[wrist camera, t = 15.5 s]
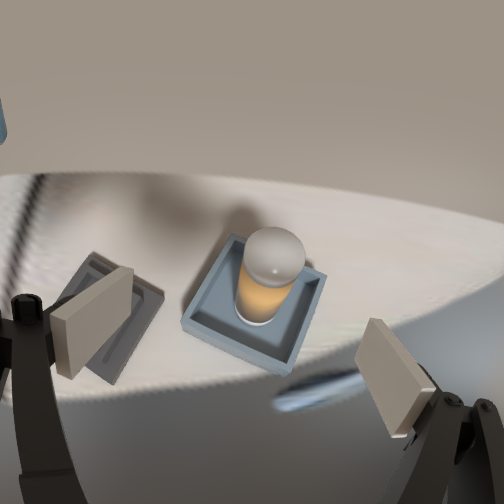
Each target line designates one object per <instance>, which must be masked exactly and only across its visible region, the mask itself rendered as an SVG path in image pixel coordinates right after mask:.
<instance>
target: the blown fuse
mask: <svg viewBox="0 0 504 504" xmlns="http://www.w3.org/2000/svg"><path fill="white" fill-rule="evenodd" d="M305 259H306V254H305V249H304V247H303V244H302V243H301V241H300V240H299V239H298V238H297V237H296V236H295V235H294V234H293V233H291V232H289V231H287V230H285V229H282V228H278V227H265V228H262V229H259V230H257V231H255V232H254V233H253V234H251V236H250V237H249V238H248V240H247V242H246V245H245V249H244V254H243V259H242V265H241V270H240V275H239V280H238V286H237V291H236V296H235V302H234V311H235V314H236V316H237V317H238V319H239V320H240V321H241V322H242V323H244V324H245V325H247V326H250V327H263V326H266V325H267V324H269V323H270V322H271V321H272V320H273V319H274V318H275V316H276V314H277V312H278V311H279V309H280V307H281V305H282V304H283V302H284V300H285V298H286V297H287V295H288V293H289V291H290V290H291V288H292V286H293V284H294V282H295V281H296V279H297V277H298V275H299V273H300V272H301V270H302V268H303V266H304V264H305Z"/></svg>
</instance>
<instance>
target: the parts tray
mask: <svg viewBox="0 0 504 504" xmlns="http://www.w3.org/2000/svg"><path fill="white" fill-rule="evenodd" d="M246 242H247V240H246V239H244V238H242V237H240V236H237V235H235V234H233V233H232V235H231V236H230V238H229V240H228V241H227V243H226V245H225V246H224V248H223V250H222V251H221V253H220V254H219V256H218V258H217V259H216V261H215V263H214V264H213V266H212V268H211V269H210V271H209V273H208V274H207V276H206V278H205V279H204V281H203V283H202V284H201V286H200V288H199V289H198V291H197V293H196V295H195V296H194V298H193V300H192V301H191V303H190V305H189V306H188V308H187V310H186V311H185V313H184V315H183V317H182V318H181V320H180V322H181V325H182V329H183V331H185V332H187V333H189V334H191V335H193V336H195V337H197V338H199V339H201V340H203V341H205V342H207V343H209V344H211V345H213V346H215V347H217V348H219V349H221V350H223V351H225V352H227V353H229V354H231V355H233V356H236V357H238V358H240V359H242V360H244V361H246V362H249V363H251V364H253V365H255V366H258V367H260V368H262V369H264V370H267V371H269V372H271V373H274V374H277V375H279V376H281V377H284V376H286V375H287V374H289V373H291V371H292V368H293V366H294V363H295V361H296V358H297V356H298V353H299V351H300V348H301V346H302V343H303V341H304V338H305V336H306V333H307V330H308V328H309V325H310V323H311V320H312V317H313V315H314V312H315V309H316V306H317V304H318V301H319V298H320V295H321V292H322V290H323V287H324V284H325V281H326V278H327V275H325V274H323V273H321V272H318V271H316V270H314V269H312V268H309V267H307V266H305V265H304V266H303V268H302V270H301V272H300V273H299V275H298V277H297V279H296V281H295V282H294V284H293V286H292V288H291V290H290V291H289V293H288V295H287V297H286V298H285V300H284V302H283V304H282V305H281V307H280V309H279V311H278V312H277V314H276V316H275V318H274V319H273V320H272V321H271V322H270V323H269V324H267V325H266V326H263V327H250V326H247V325H245V324H244V323H242V322H241V321H240V320H239V319H238V317H237V316H236V314H235V311H234V302H235V296H236V291H237V286H238V280H239V275H240V270H241V265H242V259H243V254H244V249H245V245H246Z"/></svg>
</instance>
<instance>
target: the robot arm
mask: <svg viewBox="0 0 504 504" xmlns="http://www.w3.org/2000/svg"><path fill="white" fill-rule="evenodd" d="M6 137H7V129H6V124H5V119H4V115H3V110H2V105H1V100H0V145H1V144H2V143H3V142H4V141H5V139H6ZM133 274H134V269H132V268H128V267H124V266H120V267H119V268H117V269H116V270H114V271H113V272H111V273H110V274H108V275H107V276H105V277H103V278H102V279H100V280H99V281H97V282H96V283H94V284H93V285H91V286H90V287H88V288H87V289H85V290H84V291H82V292H81V293H79V294H78V295H77V296H76V295H70V296H66V297H64V298H62V299H61V300H59V301H58V302H56V303H55V304H53V306H50V307H49V308H47V309H46V310H44V311H43V309H42V300H41V298H40V297H38V296H37V295H33V294H20V295H17V296H15V297H14V298H12V300H11V306H12V314H13V321H12V320H8V319H3V318H2V316H1V310H0V400H1V397H2V393H3V390H4V386H5V383H6V380H7V377H8V374H9V371H10V369H12V399H13V413H14V422H15V431H16V439H17V446H18V451H19V457H20V463H21V467H22V474H20V475H19V483H20V488H21V492H22V496H23V500H24V503H25V504H90V502H89V500H88V497H87V495H86V492H85V490H84V488H83V485H82V483H81V480H80V478H79V475H78V472H77V470H76V467H75V464H74V461H73V458H72V455H71V452H70V449H69V446H68V442H67V439H66V436H65V433H64V429H63V425H62V421H61V417H60V414H59V409H58V405H57V401H56V396H55V391H54V386H53V381H52V376H51V370H50V367H51V366H52V365H53V364H54V363H55V364H56V370H57V374H60V375H62V376H64V377H66V378H68V379H71V380H72V379H73V378H74V377H75V376H76V375H77V374H78V373H79V371H80V370H81V369H82V368H83V367H84V366H85V364H86V363H87V362H88V361H89V360H90V359H91V358H92V357H93V355H94V354H95V353H96V352H97V351H98V350H99V349H100V348H101V346H102V345H103V344H104V343H105V342H106V341H107V340H108V339H109V338H110V336H111V335H112V334H113V333H114V332H115V331H116V330H117V329H118V328H119V327H120V325H121V324H122V323H123V322H124V321H125V320H126V319H127V318H128V317H129V316H130V315H131V300H132V286H133ZM354 360H355V362H356V364H357V366H358V368H359V370H360V372H361V374H362V376H363V378H364V380H365V382H366V385H367V387H368V389H369V391H370V393H371V395H372V397H373V399H374V401H375V403H376V405H377V408H378V410H379V412H380V414H381V416H382V418H383V420H384V422H385V425H386V427H387V429H388V431H389V433H390V436H391V438H398V437H406V436H407V434H408V433H409V431H410V430H411V428H412V427H413V428H414V430H415V432H416V433H415V434H414V436H413V437H412V439H411V440H410V441H409V443H408V444H407V446H406V447H405V448H404V451H406V452H405V454H404V456H403V458H402V460H401V462H400V464H399V466H398V468H397V470H396V472H395V474H394V475H393V477H392V479H391V481H390V483H389V485H388V486H387V488H386V490H385V492H384V493H383V495H382V497H381V499H380V500H379V502H378V504H442V501H443V498H444V495H445V492H446V488H447V485H448V504H504V428H503V425H502V422H501V419H500V416H499V413H498V410H497V408H496V406H495V405H494V404H493V402H491V401H489V400H486V399H481V398H480V399H478V400H477V401H476V402H475V404H474V405H473V407H468V406H464V403H463V401H462V400H461V399H460V398H459V397H458V396H457V395H454V394H452V393H450V392H442V390H441V389H440V388H439V387H438V385H437V384H436V383H435V381H434V380H432V377H431V376H430V375H428V372H427V371H426V370H425V369H424V368H423V367H422V366H421V365H420V364H418V363H417V362H416V361H415V360H414V359H413V357H412V356H411V355H410V354H409V352H408V351H407V350H406V349H405V347H404V346H403V345H402V344H401V342H400V341H399V340H398V339H397V338H396V336H395V335H394V334H393V333H392V331H391V330H390V329H389V328H388V327H387V325H386V324H385V323H384V322H383V321H382V320H381V319H375V318H370V319H369V322H368V325H367V328H366V330H365V333H364V335H363V338H362V341H361V343H360V346H359V348H358V351H357V353H356V355H355V358H354Z"/></svg>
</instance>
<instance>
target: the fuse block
mask: <svg viewBox="0 0 504 504" xmlns="http://www.w3.org/2000/svg"><path fill="white" fill-rule="evenodd" d="M114 270H115V269H113V268H111V267H110V266H108V265H106V264H105V263H103V262H101V261H100V260H98V259H96V258H95V257H93V256H91V255H90V254H89V256H88V257H87V258H86V260H85V261H84V262H83V264H82V265H81V266H80V268H79V269H78V271H77V272H76V273H75V275H74V276H73V277H72V279H71V280H70V282H69V283H68V285H67V286H66V287H65V289H64V290H63V292H62V293H61V295H60V296H59V298H58V299H57V301H56V302H58V301H59V300H61V299H62V298H64V297H66V296H70V295H76V296H77V295H78V294H79V293H81V292H82V291H84V290H85V289H87V288H88V287H90V286H91V285H93V284H94V283H96V282H97V281H99V280H100V279H102V278H103V277H105V276H107V275H108V274H110V273H111V272H113V271H114ZM56 302H55V303H56ZM163 302H164V297H163V296H161V295H159V294H157V293H155V292H153V291H152V290H150V289H148V288H146V287H144V286H143V285H141V284H139V283H137V282H135V281H134V280H133V286H132V300H131V315H130V316H129V317H128V318H127V319H126V320H125V321H124V322H123V323H122V324H121V325H120V327H119V328H118V329H117V330H116V331H115V332H114V333H113V334H112V335H111V336H110V338H109V339H108V340H107V341H106V342H105V343H104V344H103V345H102V346H101V348H100V349H99V350H98V351H97V352H96V353H95V354H94V355H93V357H92V358H91V359H90V360H89V361H88V362H87V363H86V364H85V366H86V367H87V368H88V369H90V370H91V371H93V372H94V373H95V374H97V375H98V376H100V377H101V378H102V379H104V380H105V381H107V382H108V383H110V384H111V385H114V384H115V382H116V381H117V379H118V377H119V375H120V374H121V372H122V370H123V368H124V367H125V365H126V363H127V361H128V360H129V358H130V356H131V355H132V353H133V351H134V350H135V348H136V346H137V344H138V343H139V341H140V339H141V338H142V336H143V334H144V333H145V331H146V329H147V328H148V326H149V324H150V323H151V321H152V320H153V318H154V316H155V315H156V313H157V311H158V310H159V308H160V307H161V305H162V303H163Z"/></svg>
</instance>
